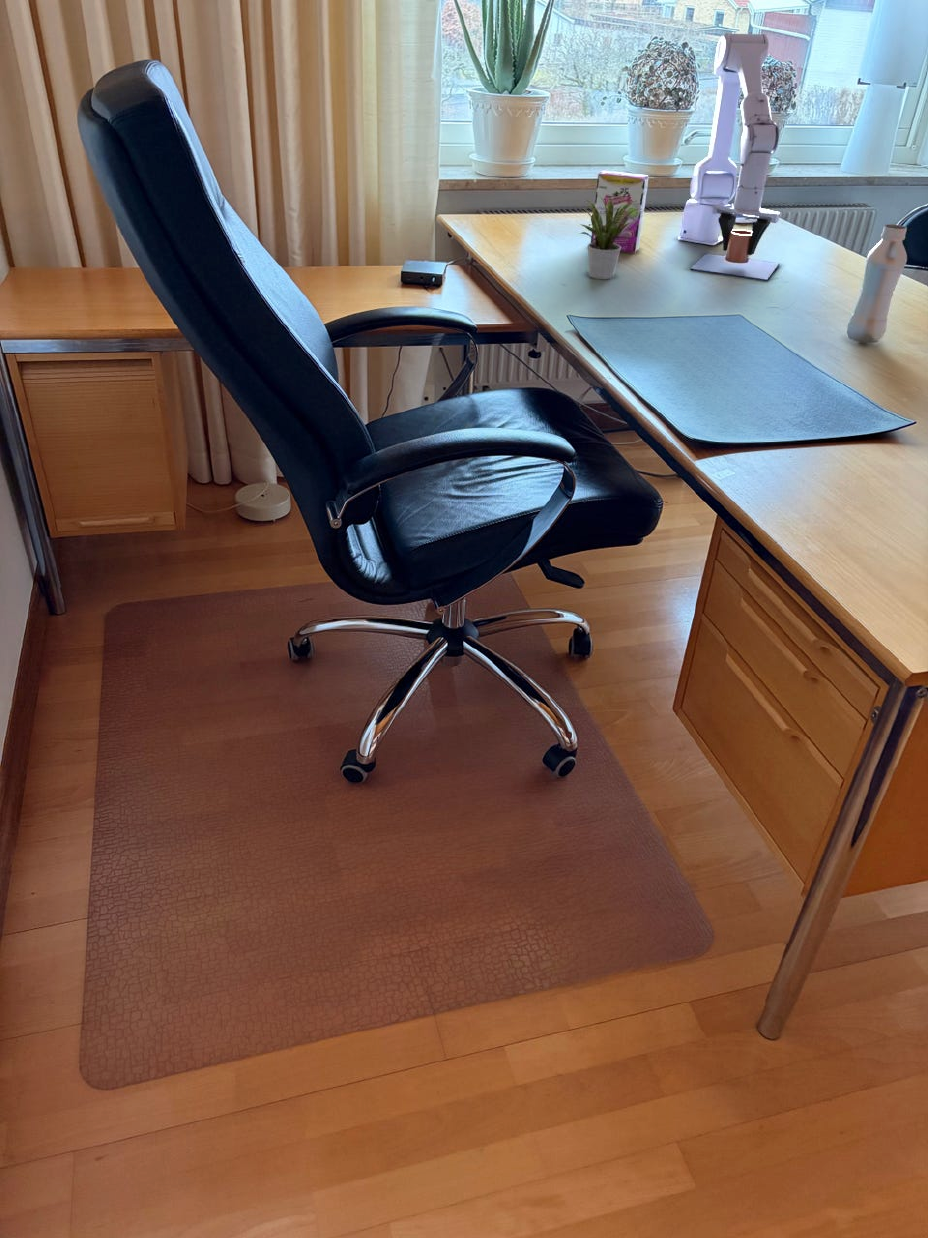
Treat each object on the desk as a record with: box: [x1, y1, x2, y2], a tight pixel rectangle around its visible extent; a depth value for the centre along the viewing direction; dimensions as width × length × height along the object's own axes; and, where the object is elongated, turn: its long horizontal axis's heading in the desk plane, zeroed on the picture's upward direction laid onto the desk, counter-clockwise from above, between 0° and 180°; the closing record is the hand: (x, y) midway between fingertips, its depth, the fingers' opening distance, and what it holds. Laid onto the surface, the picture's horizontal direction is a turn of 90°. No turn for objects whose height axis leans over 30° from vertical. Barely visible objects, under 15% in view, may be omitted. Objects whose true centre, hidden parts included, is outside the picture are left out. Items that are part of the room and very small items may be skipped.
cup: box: [724, 229, 752, 263], centre depth 206 cm, size 5×5×6 cm
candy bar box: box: [590, 170, 650, 254], centre depth 214 cm, size 11×5×16 cm, turn 71°
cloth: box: [690, 253, 780, 282], centre depth 208 cm, size 17×15×1 cm
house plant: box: [578, 195, 639, 280], centre depth 195 cm, size 14×14×16 cm
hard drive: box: [734, 215, 757, 224], centre depth 250 cm, size 2×8×12 cm
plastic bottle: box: [846, 223, 908, 344], centre depth 163 cm, size 6×7×20 cm
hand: (738, 251), depth 206 cm, fingers closed on cup, 5 cm apart
